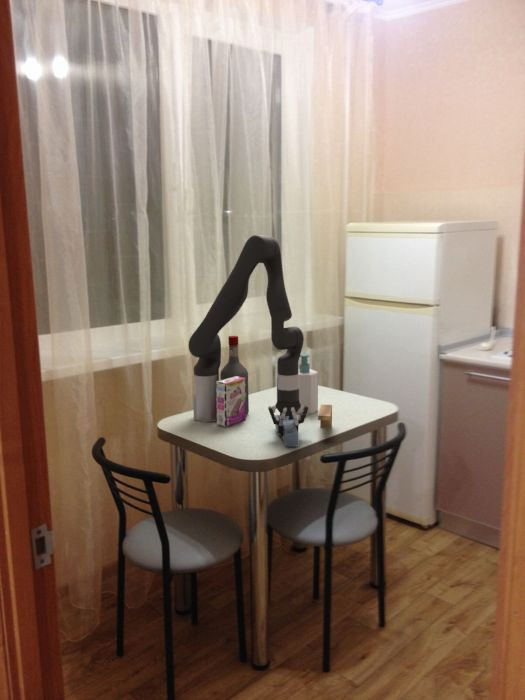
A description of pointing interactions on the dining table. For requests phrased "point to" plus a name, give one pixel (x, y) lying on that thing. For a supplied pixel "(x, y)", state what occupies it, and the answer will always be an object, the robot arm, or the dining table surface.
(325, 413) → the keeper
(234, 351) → the liquor
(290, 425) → the link
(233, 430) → the dining table surface
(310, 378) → the soap bottle
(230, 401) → the candy bar box
